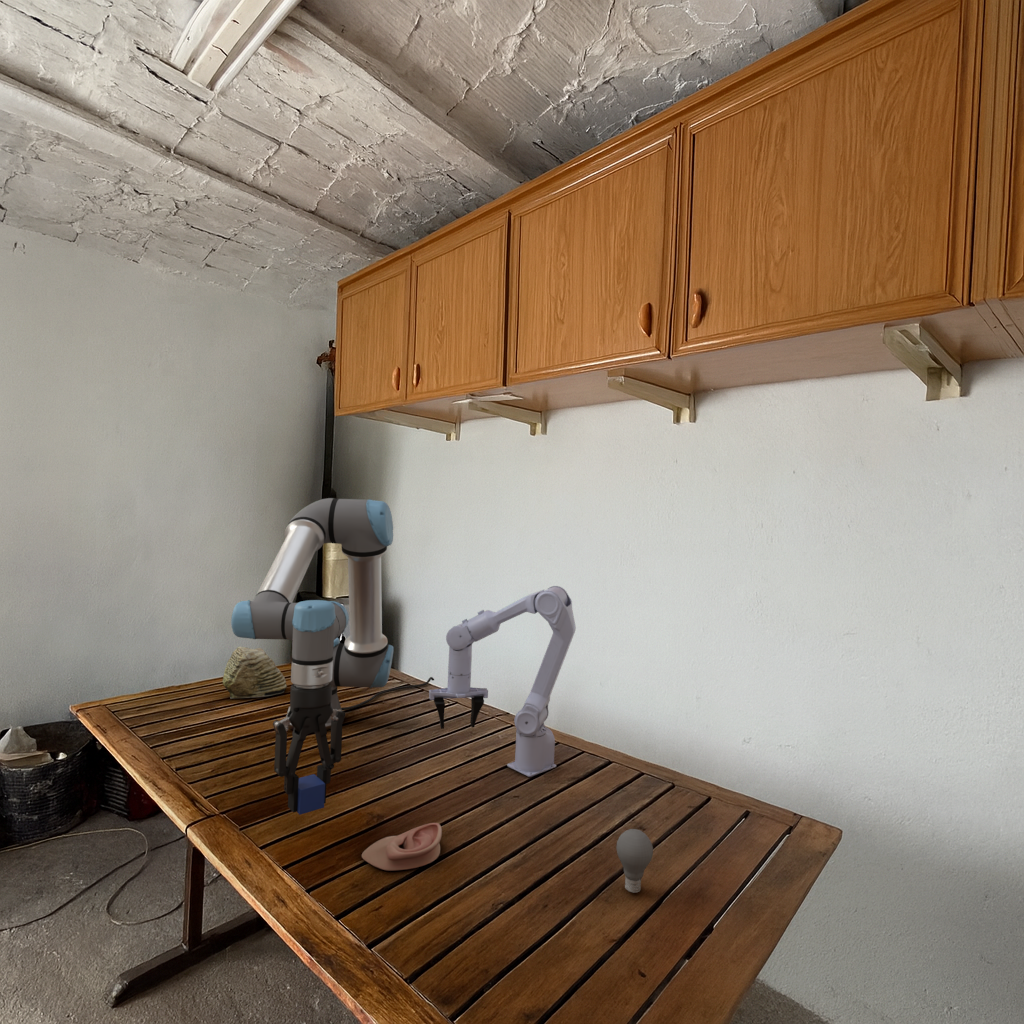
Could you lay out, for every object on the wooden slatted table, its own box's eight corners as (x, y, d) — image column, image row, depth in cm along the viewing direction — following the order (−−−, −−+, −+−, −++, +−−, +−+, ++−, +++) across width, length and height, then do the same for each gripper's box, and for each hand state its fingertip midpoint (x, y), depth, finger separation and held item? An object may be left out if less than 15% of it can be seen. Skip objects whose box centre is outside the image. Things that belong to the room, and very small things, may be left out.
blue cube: (299, 815, 117) (300, 789, 117) (289, 804, 121) (290, 780, 121) (324, 807, 120) (325, 783, 120) (313, 797, 124) (314, 773, 124)
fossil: (218, 695, 195) (220, 647, 195) (278, 685, 208) (279, 640, 207) (228, 703, 189) (230, 653, 188) (289, 692, 201) (290, 645, 201)
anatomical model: (354, 842, 109) (381, 811, 120) (353, 865, 109) (380, 831, 121) (427, 854, 107) (448, 821, 118) (426, 877, 107) (447, 842, 118)
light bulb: (610, 879, 108) (613, 822, 108) (644, 879, 109) (647, 822, 109) (619, 902, 102) (622, 840, 102) (655, 901, 103) (658, 840, 103)
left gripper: (271, 696, 111) (266, 827, 112) (363, 680, 123) (359, 799, 123) (256, 685, 117) (252, 810, 117) (346, 672, 129) (341, 785, 129)
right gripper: (432, 677, 152) (429, 733, 152) (491, 676, 156) (488, 731, 156) (429, 669, 159) (426, 723, 159) (485, 668, 162) (483, 721, 163)
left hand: (306, 804), depth 120 cm, fingers closed on blue cube, 5 cm apart
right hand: (457, 726), depth 158 cm, fingers open, 7 cm apart
